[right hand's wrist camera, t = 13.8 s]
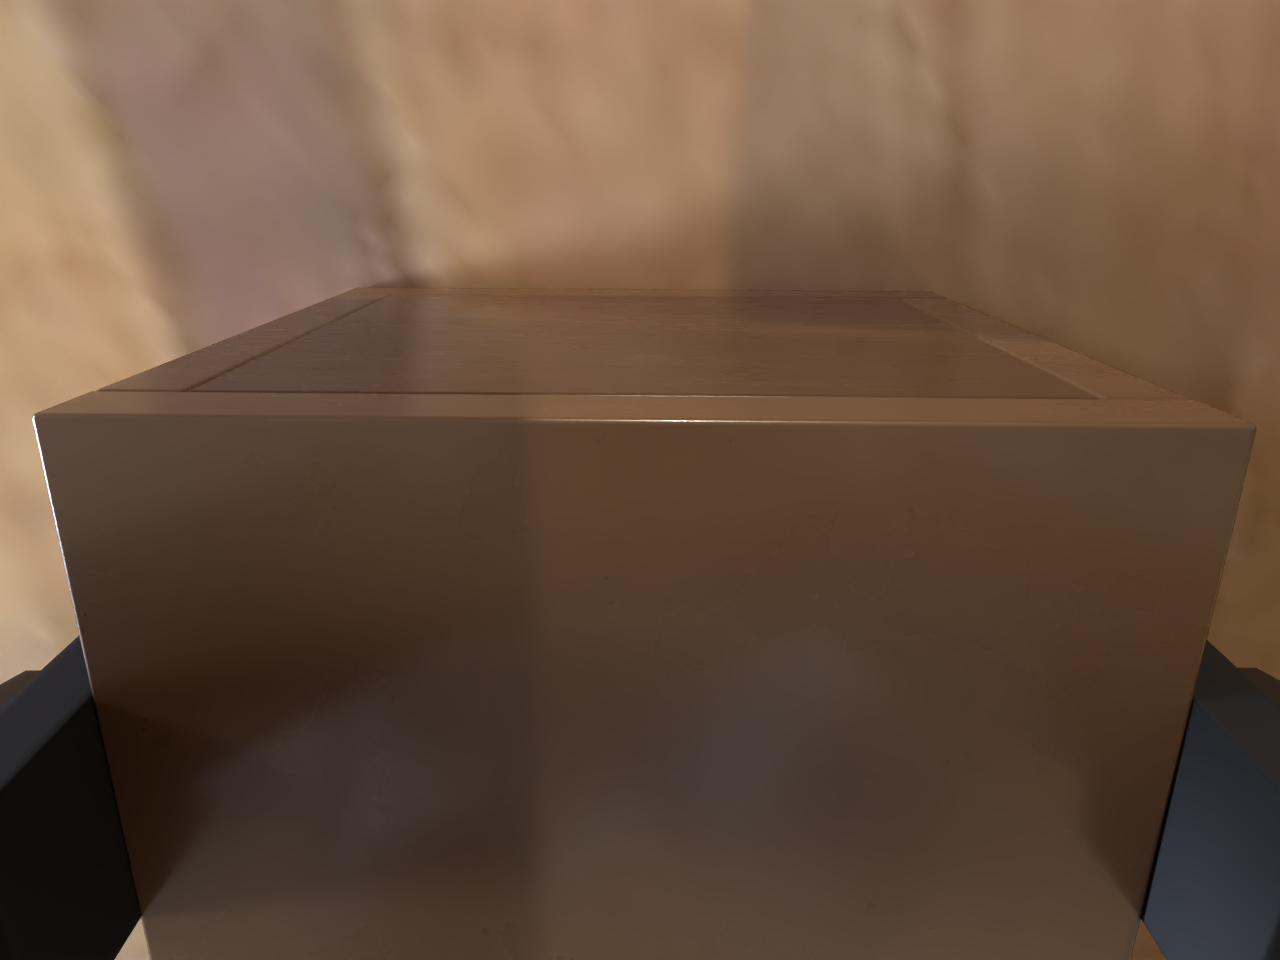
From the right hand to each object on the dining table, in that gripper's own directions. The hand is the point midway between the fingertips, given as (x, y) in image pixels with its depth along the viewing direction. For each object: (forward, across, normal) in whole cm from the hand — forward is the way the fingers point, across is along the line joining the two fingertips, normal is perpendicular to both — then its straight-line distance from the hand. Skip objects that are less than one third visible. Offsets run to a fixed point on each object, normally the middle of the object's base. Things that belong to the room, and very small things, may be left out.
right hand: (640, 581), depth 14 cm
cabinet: (+4, 0, -7) cm, 8 cm away
